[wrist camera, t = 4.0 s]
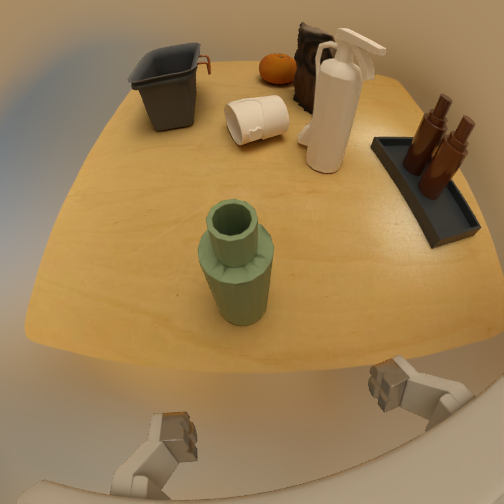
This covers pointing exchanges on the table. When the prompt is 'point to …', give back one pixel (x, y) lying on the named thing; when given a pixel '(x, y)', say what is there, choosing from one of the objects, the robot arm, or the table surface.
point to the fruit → (278, 68)
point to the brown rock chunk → (309, 63)
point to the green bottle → (237, 261)
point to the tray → (426, 210)
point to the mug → (256, 118)
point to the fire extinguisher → (337, 98)
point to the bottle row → (447, 147)
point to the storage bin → (169, 84)
